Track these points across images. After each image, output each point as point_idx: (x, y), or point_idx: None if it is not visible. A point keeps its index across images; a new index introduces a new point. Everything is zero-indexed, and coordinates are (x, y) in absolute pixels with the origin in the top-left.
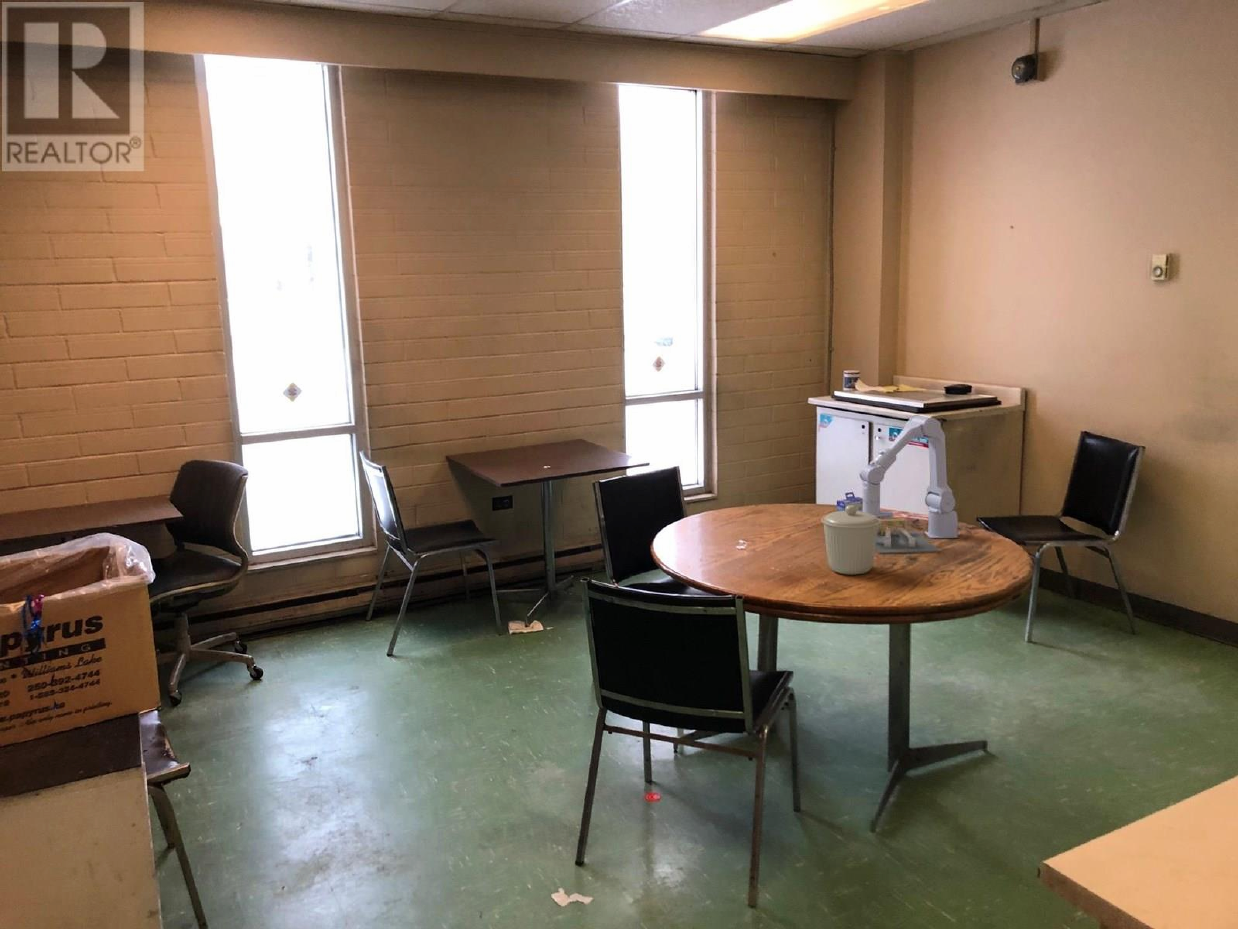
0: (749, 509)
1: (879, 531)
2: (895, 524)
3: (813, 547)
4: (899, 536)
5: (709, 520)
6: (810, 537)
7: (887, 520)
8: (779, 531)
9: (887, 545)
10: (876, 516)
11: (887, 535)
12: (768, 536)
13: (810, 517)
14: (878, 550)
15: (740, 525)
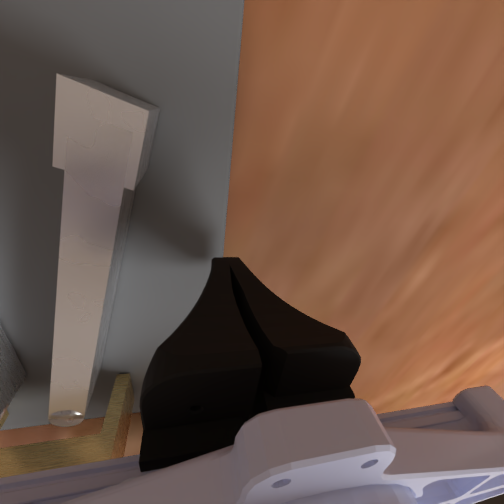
0: None
1: (130, 403)
2: (1, 454)
3: (498, 236)
4: (5, 348)
5: None
6: (406, 355)
7: None
8: (438, 398)
9: (122, 93)
10: (255, 445)
11: (90, 249)
12: (499, 360)
13: None
14: (231, 26)
15: None
